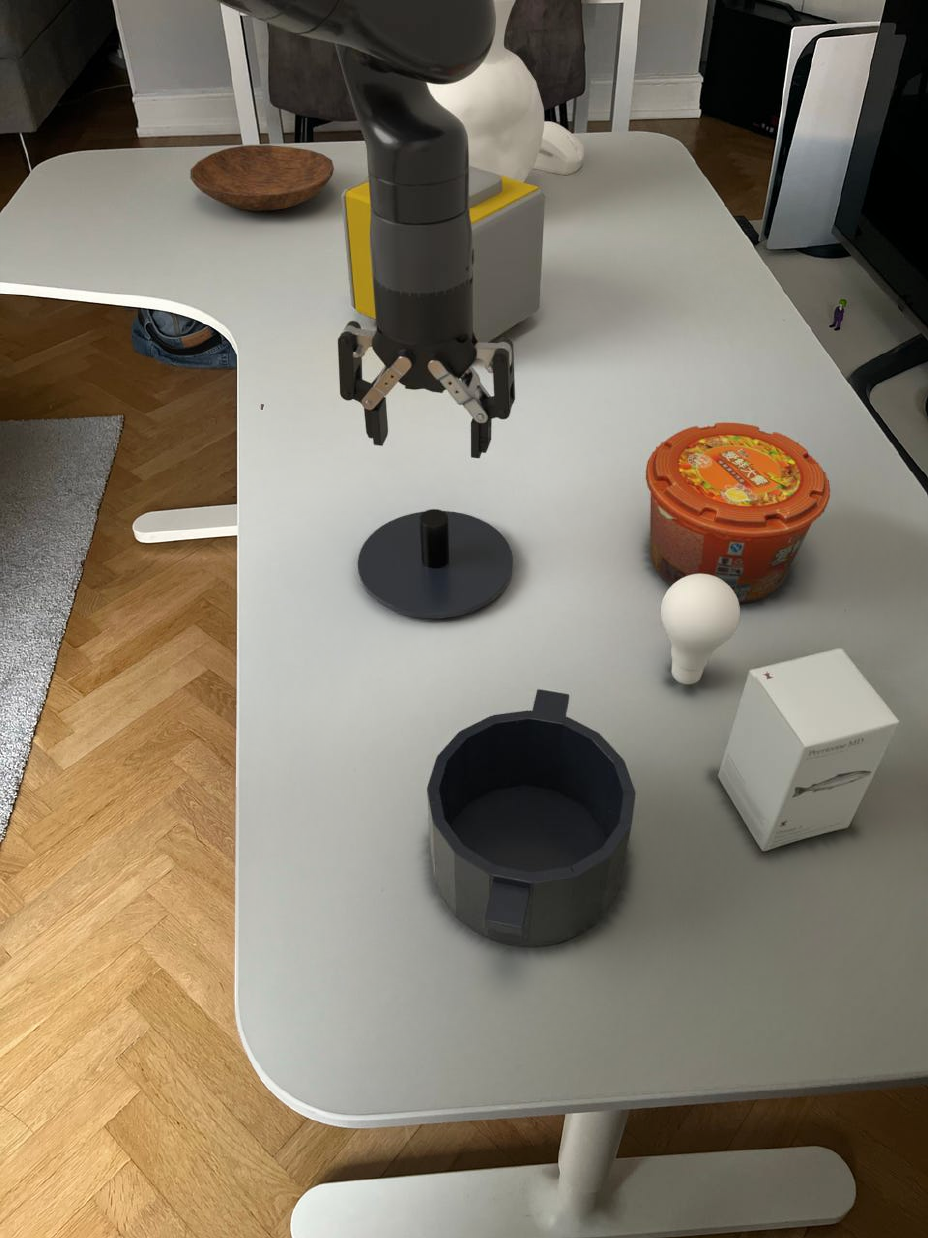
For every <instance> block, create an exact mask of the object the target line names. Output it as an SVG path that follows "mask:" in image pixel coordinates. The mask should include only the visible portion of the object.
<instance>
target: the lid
mask: <svg viewBox="0 0 928 1238" xmlns="http://www.w3.org/2000/svg"><path fill="white" fill-rule="evenodd" d="M513 570H514V556H513V550H512V548H511V546H510V544H509V542H508V540H507V539H506V538H505V536H504V535H503V534H502V533H501V532H500V531H499V530H498V529H497V528H495V527H494V526H493V525H491V524H490V523H488V522H486V521H484V520H482V519H480V518H478V517H476V516H473V515H469V514H466V513H462V512H457V511H449V510H442V509H437V508H432V509H428V510H425V511H419V512H412V513H409V514H405V515H401V516H399V517H397V518H395V519H392V520H390V521H388V522H386V523H385V524H383V525H381V526H379V527H378V528H377V529H376V530H374V531H373V533H371V534H370V535H369V537H367V539H366V540H365V542H364V543H363V544H362V547H361V548H360V551H359V553H358V557H357V571H358V573H357V574H358V575H359V581H360V583H361V585H362V587H363V588H364V590H365V591H366V592H367V594H368V595H369V596H370V597H371V598H372V599H373V600H375V601H376V602H377V603H378V604H379V605H382V606H383V607H385V608H387V609H389V610H391V611H393V612H395V613H399V614H402V615H405V616H408V617H412V618H413V617H414V618H422V619H446V618H448V619H449V618H453V617H459V616H462V615H466V614H469V613H471V612H474V611H477V610H479V609H482V608H483V607H485V606H487V605H488V604H490V603H491V602H492V601H494V600H495V599H496V598H498V596H500V595H501V594H502V592H503V591H504V590H505V589H506V588H507V585H508V584H509V582H510V580H511V577H512V575H513Z"/></svg>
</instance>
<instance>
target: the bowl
mask: <svg viewBox="0 0 928 1238" xmlns="http://www.w3.org/2000/svg"><path fill="white" fill-rule="evenodd" d="M334 171H335V167H334V163H333V159H331V158H329V156H328V157H327V155H324V154H323V153H319V152H316V151H313V150H311V149H305V148H299V147H292V146H281V145H273V144H272V145H270V144H265V145H264V144H262V145H261V144H259V145H257V144H256V145H253V144H252V145H240V146H234V147H229V148H225V149H221V150H219V151H215V152H214V153H210V154H209V155H207V156H205V157H204V158H202V159H200V160H199V161H197V162H196V163H195V164H194V165H193V166H192V167H191V169H190V173H189V178H190V180H191V181H192V183H193V184H194V185H195V186H196V187H197V189H198V190H200V191H201V192H202V193H203V194H204V195H206V196H208V197H209V198H211V199H213V200H215V201H217V202H218V203H221V204H224V205H227V206H229V207H231V208H234V209H240V210H249V211H253V212H254V211H255V212H258V211H259V212H260V211H274V210H276V211H277V210H283V209H284V210H285V209H288V208H289V209H290V208H292V207H295V206H297V205H299V204H302V203H305V202H307V201H310V200H313V199H314V198H315V197H317V195H319V194H320V193H321V191H322V190H323V189H324V188H325V186H327V184H328V182H329V181H330V180H331V178H332V177H333V175H334Z"/></svg>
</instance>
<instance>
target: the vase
mask: <svg viewBox="0 0 928 1238" xmlns="http://www.w3.org/2000/svg"><path fill="white" fill-rule="evenodd" d="M516 1H517V0H494V4H495V11H496V28H495V35H494V39H493V42H492V45H491V48H490V50H489V52H488V54H487V56H486V58H485V60H484V61H483V62H482V64H481V65H480V66H479V67H478V68H477V69H476V70H475V71H474V72H473V73H472V74H471V75H469V76H468V77H466V78H464V79H462V80H460V81H458V82H455V83H452V84H445V85H437V84H431V83H427V85H428V88H429V91H430V93H431V95H432V96H433V97H434V99H435V100H436V101H437V102H438V103H439V104H440V105H441V106H443V107H444V108H445V109H447V110H448V111H450V112H451V113H452V114H454V115H455V116H456V117H457V118H458V119H459V120H460V121H461V122H462V123H463V125H464V127H465V129H466V132H467V136H468V145H469V166H472V167H475V168H478V169H481V170H485V171H488V172H491V173H494V174H498V175H501V176H504V177H508V178H511V179H514V180H517V181H521V182H524V183H525V181H526V179H527V178H528V176H529V175H530V171H531V170H533V166H534V164H535V161H536V158H537V155H538V153H539V151H540V148H541V144H542V136H543V131H544V121H545V109H544V108H545V107H544V104H543V101H542V98H541V93H540V91H539V87H538V83H537V81H536V79H535V78H534V76H533V75H532V73H531V72H530V70H529V69H528V67H527V65H525V62H524V61H523V60H522V59H521V57H519V55H517V54H516V53H514V52H512V51H511V50H509V49H507V48H506V47H505V33H506V28H507V25H508V21H509V19H510V16H511V13H512V9H513V7H514V5H515V3H516Z"/></svg>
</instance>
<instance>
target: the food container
mask: <svg viewBox="0 0 928 1238" xmlns="http://www.w3.org/2000/svg"><path fill="white" fill-rule="evenodd" d="M645 482H646V485H647V488H648V490H649V492H650V507H649V508H650V513H649V514H650V517H649V519H650V523H649V524H650V526H649V529H650V530H649V531H650V532H649V554H650V559H651V562H652V564H653V566H654V568H655V570H656V571H657V573H658V574H659V576H660V577H661V578H662V579H664V580H665V582H667V583H668V584H669V585H670V586H672V585H673V584H674V583H675V582H677V581H678V580H680V579H681V578H684V577H686V576H689V575H693V574H708V575H712V576H715V577H718V578H720V579H721V580H723V581H724V582H725V583H726V584H728V585H729V586H730V587H731V589H732V590H733V591H734V593H735V594H736V596H737V599H738V602H739V604H745V603H746V604H747V603H752V602H756V601H759V600H761V599H763V598H765V597H768V596H769V595H771V594H772V593H774V592H775V591H776V590H778V588H779V587H780V586H781V585H782V583H783V582H784V580H785V578H786V576H787V574H788V573H789V570H790V568H791V566H792V565H793V562H794V560H795V559H796V556H797V554H798V552H799V550H800V548H801V546H802V544H803V542H804V540H805V538H806V536H807V534H808V532H809V530H810V529H811V526H812V524H813V523H814V521H816V520H817V519H818V518H819V517H820V516H822V514H824V512H825V510H826V508H827V507H828V504H829V500H830V497H831V487H830V486H831V485H830V479H828V476H827V473H826V472H825V471H824V469H823V468H822V466H821V465H820V463H819V462H817V461H816V459H815V458H814V457H813V456H812V455H810V453H809V452H808V450H807V449H806V447H805V446H803V445H801V444H800V443H799V442H798V441H795V440H794V439H792V438H790V437H788V436H786V435H784V434H782V433H779V432H776V431H773V432H772V433H768V432H765V430H760V427H758V426H757V425H753V424H746V423H741V422H716V423H715V424H714V425H711V426H710V425H707V426H702V427H699V426H698V425H695V426H691V427H687V428H686V429H683V430H681V431H678V432H677V433H675V434H673V435H671V436H670V437H669V438H667V439H666V440H664V441H662V442H661V443H660V444H659V445H658V446H656V447H655V449H654V451H652V453H651V455H650V456H649V458H648V460H647V463H646V469H645Z"/></svg>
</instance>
